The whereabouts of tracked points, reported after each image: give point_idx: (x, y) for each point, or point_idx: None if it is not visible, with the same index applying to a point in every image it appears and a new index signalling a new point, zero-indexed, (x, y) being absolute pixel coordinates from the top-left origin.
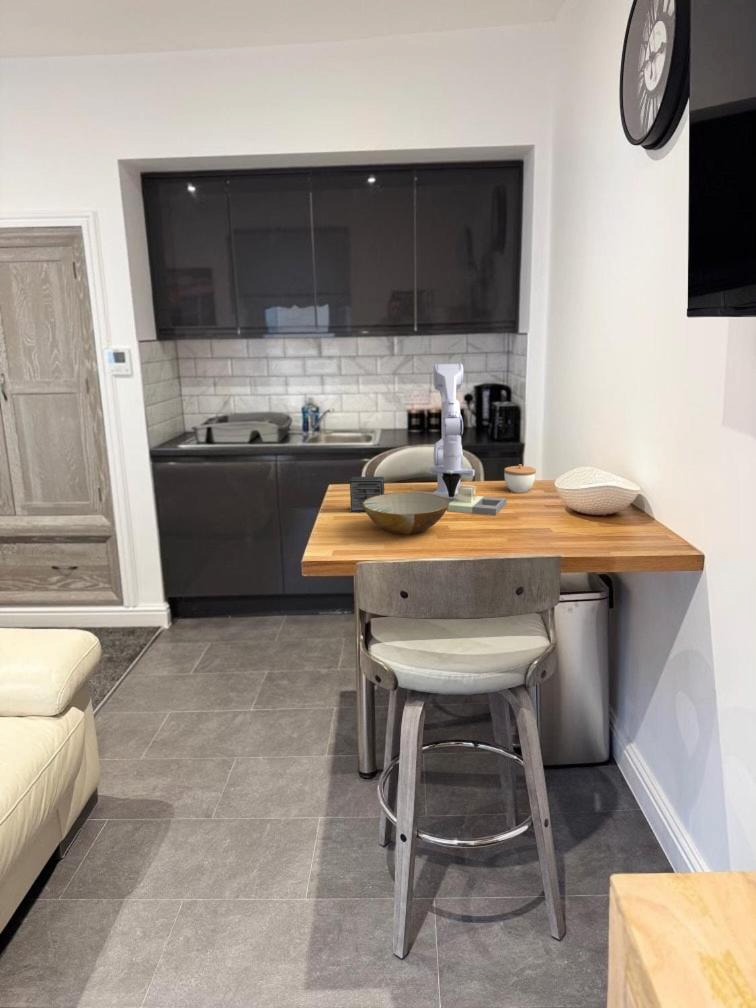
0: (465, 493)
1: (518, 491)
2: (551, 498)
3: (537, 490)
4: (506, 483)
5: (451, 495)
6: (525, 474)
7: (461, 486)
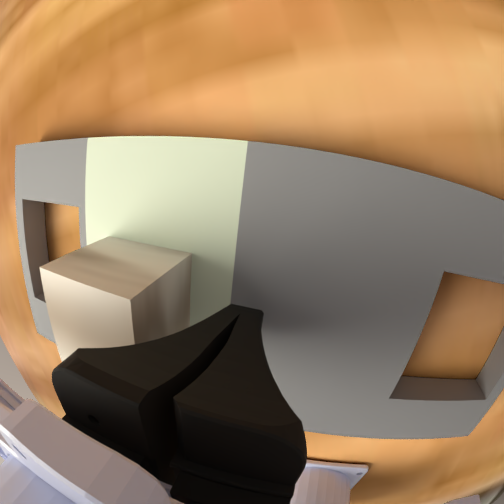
0: (99, 263)
1: None
2: (20, 370)
3: None
4: None
5: (235, 308)
6: None
7: None
